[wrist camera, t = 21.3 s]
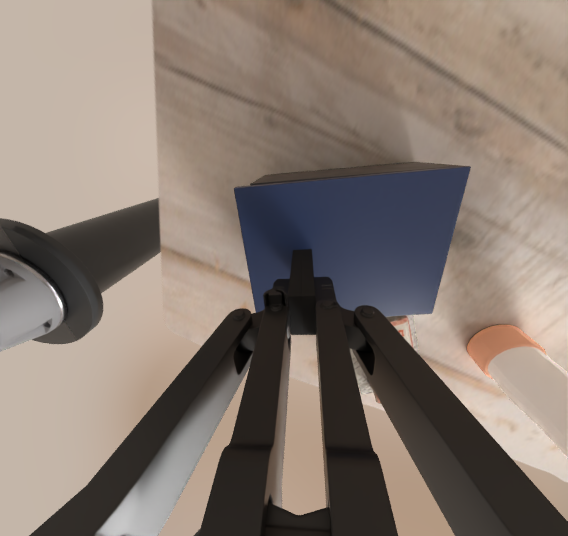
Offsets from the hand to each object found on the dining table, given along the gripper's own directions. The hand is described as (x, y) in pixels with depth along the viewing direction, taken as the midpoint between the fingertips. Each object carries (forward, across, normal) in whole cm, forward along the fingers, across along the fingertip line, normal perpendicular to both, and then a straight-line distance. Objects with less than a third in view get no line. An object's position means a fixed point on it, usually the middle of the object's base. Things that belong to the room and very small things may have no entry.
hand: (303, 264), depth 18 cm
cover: (+1, +3, 0) cm, 4 cm away
